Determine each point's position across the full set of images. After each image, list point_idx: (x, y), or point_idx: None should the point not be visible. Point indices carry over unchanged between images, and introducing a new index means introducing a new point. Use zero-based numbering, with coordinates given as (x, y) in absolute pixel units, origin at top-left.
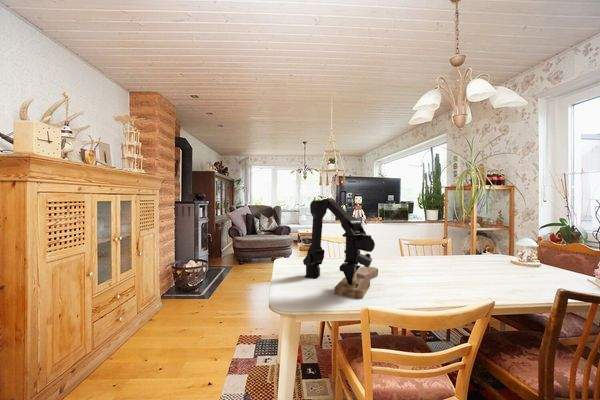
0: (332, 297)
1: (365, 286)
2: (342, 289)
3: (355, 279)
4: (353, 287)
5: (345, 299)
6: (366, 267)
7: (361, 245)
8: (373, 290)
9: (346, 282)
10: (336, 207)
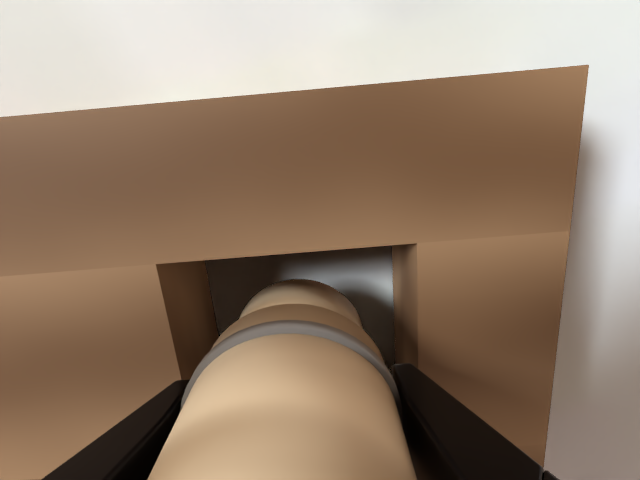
0: (605, 428)
1: (223, 103)
2: (538, 419)
3: (320, 378)
4: (417, 299)
5: (625, 285)
6: None
7: None
8: (15, 22)
9: None
10: None
